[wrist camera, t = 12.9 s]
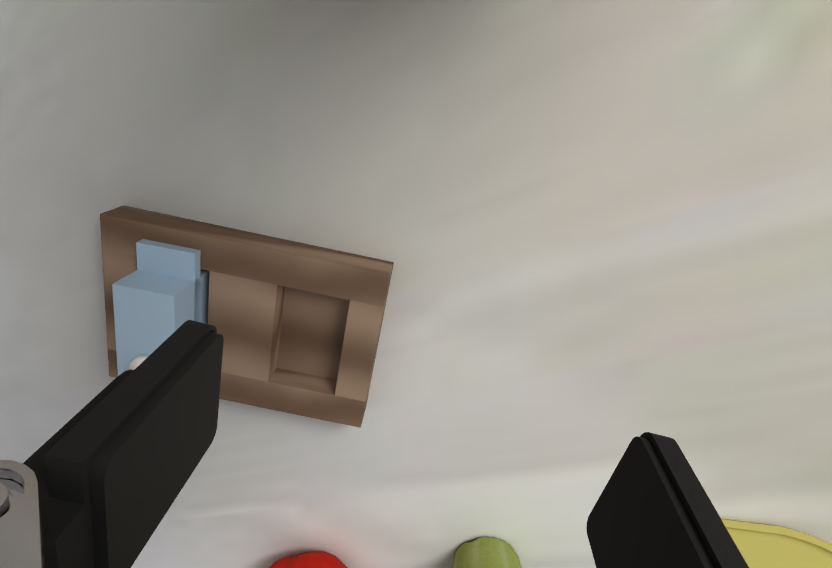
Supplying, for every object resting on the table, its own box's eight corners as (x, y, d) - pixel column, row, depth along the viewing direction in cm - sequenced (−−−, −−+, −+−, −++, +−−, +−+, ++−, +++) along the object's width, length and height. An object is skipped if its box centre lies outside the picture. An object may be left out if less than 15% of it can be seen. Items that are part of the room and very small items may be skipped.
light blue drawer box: (159, 230, 35) (101, 259, 29) (213, 241, 35) (167, 271, 29) (162, 359, 39) (112, 406, 33) (211, 369, 39) (169, 417, 33)
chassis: (123, 205, 35) (99, 214, 33) (393, 262, 35) (389, 275, 33) (129, 359, 40) (108, 376, 38) (365, 407, 40) (360, 428, 38)
